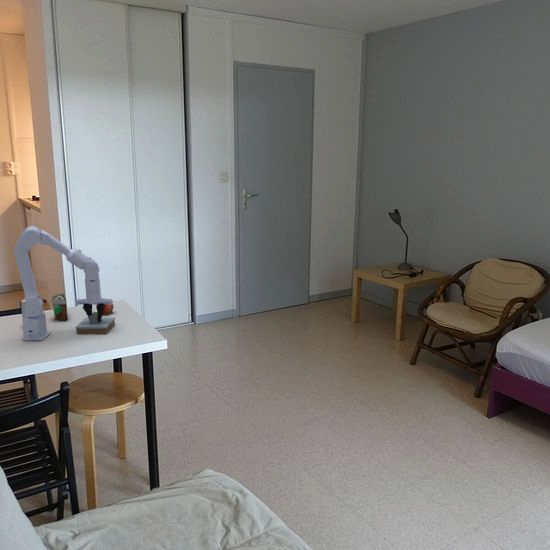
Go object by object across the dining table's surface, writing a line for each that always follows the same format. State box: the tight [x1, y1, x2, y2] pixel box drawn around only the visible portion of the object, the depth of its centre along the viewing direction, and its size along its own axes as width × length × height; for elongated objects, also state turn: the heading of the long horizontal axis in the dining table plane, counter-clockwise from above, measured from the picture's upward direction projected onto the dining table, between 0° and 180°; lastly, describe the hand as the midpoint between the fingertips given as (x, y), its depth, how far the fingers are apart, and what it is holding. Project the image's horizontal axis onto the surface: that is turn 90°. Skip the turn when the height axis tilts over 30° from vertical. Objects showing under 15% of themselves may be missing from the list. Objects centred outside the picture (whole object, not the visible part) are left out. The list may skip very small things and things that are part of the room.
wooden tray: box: [75, 320, 116, 335], centre depth 221 cm, size 12×12×2 cm
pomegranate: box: [95, 300, 115, 315], centre depth 241 cm, size 7×7×10 cm
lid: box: [75, 311, 116, 329], centre depth 220 cm, size 12×12×5 cm
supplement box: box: [20, 298, 26, 324], centre depth 225 cm, size 6×6×12 cm
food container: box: [50, 292, 69, 322], centre depth 234 cm, size 12×6×10 cm, turn 25°
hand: (95, 321), depth 220 cm, fingers closed on lid, 3 cm apart
